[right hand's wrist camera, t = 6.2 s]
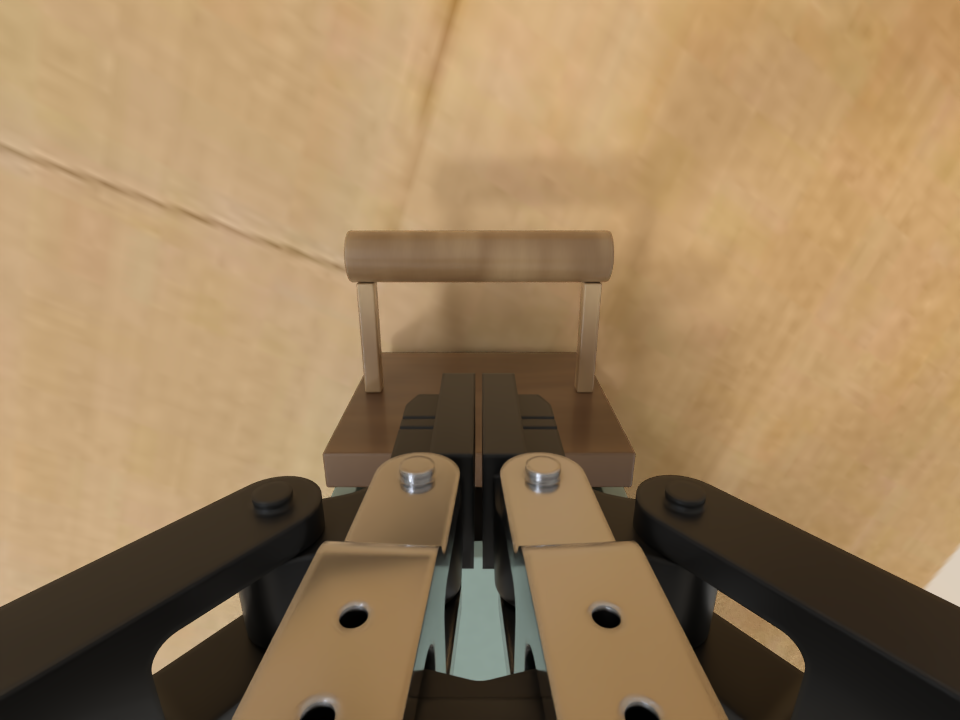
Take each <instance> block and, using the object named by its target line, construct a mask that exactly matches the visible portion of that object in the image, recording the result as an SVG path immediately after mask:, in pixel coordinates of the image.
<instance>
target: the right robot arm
mask: <svg viewBox="0 0 960 720" xmlns="http://www.w3.org/2000/svg"><path fill="white" fill-rule="evenodd" d="M474 525H475V373H443V374H442V380H441V386H440V392H439V394H418V395H417V396H416V397H415V398H413V399H412V400H411V401H410V402H409V403H407V404H406V407H405V410H404V413H403V419H402V420H401V424H400V429H399V430H398V434H397V437H396V441H395V444H394V448H393V451H392V454H391V458H390V459H389V460H387V461H386V462H384V463H383V464H382V465H381V466H380V467H379V468H378V469H377V470H376V472H375V474H374V476H373V478H372V481H371V483H370V485H369V486H368V487H366V488H364V489H361V490H359V491H356V492H353V493H349V494H344V495H340V496H334V497H329V498H324V499H322V494H321V490H320V488H319V486H318V485H317V484H316V483H314V482H313V481H311V480H309V479H306V478H302V477H296V476H282V477H274V478H269V479H265V480H261V481H258V482H256V483H253V484H251V485H249V486H247V487H244V488H242V489H240V490H238V491H236V492H234V493H232V494H230V495H228V496H226V497H224V498H222V499H220V500H218V501H216V502H214V503H212V504H210V505H208V506H206V507H204V508H202V509H200V510H198V511H195V512H193V513H191V514H189V515H187V516H185V517H183V518H181V519H179V520H177V521H175V522H173V523H171V524H169V525H167V526H165V527H163V528H161V529H159V530H157V531H155V532H153V533H151V534H149V535H147V536H144V537H142V538H140V539H138V540H136V541H134V542H132V543H130V544H128V545H126V546H124V547H122V548H120V549H118V550H116V551H114V552H112V553H110V554H108V555H106V556H104V557H102V558H100V559H98V560H95V561H93V562H91V563H89V564H87V565H85V566H83V567H81V568H79V569H77V570H75V571H73V572H71V573H69V574H67V575H65V576H63V577H61V578H59V579H57V580H55V581H53V582H51V583H49V584H47V585H44V586H42V587H40V588H38V589H36V590H34V591H32V592H30V593H28V594H26V595H24V596H22V597H20V598H18V599H16V600H14V601H12V602H10V603H8V604H6V605H4V606H2V607H0V720H960V607H958V606H956V605H954V604H952V603H950V602H948V601H946V600H944V599H942V598H940V597H938V596H936V595H934V594H932V593H930V592H928V591H926V590H924V589H922V588H920V587H918V586H916V585H913V584H911V583H909V582H907V581H905V580H903V579H901V578H899V577H897V576H895V575H893V574H891V573H889V572H887V571H885V570H883V569H881V568H879V567H877V566H875V565H873V564H871V563H869V562H867V561H864V560H862V559H860V558H858V557H856V556H854V555H852V554H850V553H848V552H846V551H844V550H842V549H840V548H838V547H836V546H834V545H832V544H830V543H828V542H826V541H824V540H822V539H820V538H818V537H816V536H813V535H811V534H809V533H807V532H805V531H803V530H801V529H799V528H797V527H795V526H793V525H791V524H789V523H787V522H785V521H783V520H781V519H779V518H777V517H775V516H773V515H771V514H769V513H767V512H764V511H762V510H760V509H758V508H756V507H754V506H752V505H750V504H748V503H746V502H744V501H742V500H740V499H738V498H736V497H734V496H732V495H730V494H728V493H726V492H724V491H722V490H720V489H718V488H716V487H713V486H711V485H709V484H707V483H705V482H702V481H700V480H697V479H693V478H689V477H684V476H677V475H662V476H656V477H652V478H649V479H647V480H645V481H644V482H642V483H641V484H640V485H639V486H638V489H637V492H636V499H631V498H626V497H621V496H616V495H611V494H607V493H603V492H600V491H597V490H594V489H592V487H591V485H590V483H589V481H588V478H587V476H586V474H585V472H584V470H583V469H582V468H581V467H580V466H579V465H578V464H577V463H576V462H574V461H573V460H571V459H569V458H566V456H565V453H564V449H563V446H562V442H561V439H560V435H559V431H558V429H557V424H556V421H555V419H554V414H553V410H552V407H551V404H550V403H548V402H547V401H546V400H545V399H544V398H542V397H541V396H540V395H539V394H518V393H517V386H516V380H515V374H514V373H482V554H483V569H494V578H495V586H496V589H497V591H498V610H499V618H500V625H501V633H502V641H503V649H504V657H505V665H506V673H507V676H503V677H498V678H494V679H490V680H485V681H475V680H470V679H466V678H462V677H457V676H453V673H454V665H455V657H456V649H457V641H458V633H459V625H460V618H461V610H462V583H461V581H462V569H474ZM717 590H719V591H720V592H722V593H723V594H725V595H727V596H728V597H730V598H731V599H733V600H734V601H736V602H738V603H739V604H741V605H742V606H744V607H745V608H747V609H749V610H750V611H752V612H753V613H755V614H756V615H758V616H760V617H761V618H763V619H764V620H766V621H767V622H769V623H771V624H772V625H774V626H775V627H777V628H778V629H780V630H781V631H783V632H784V633H785V634H786V635H788V636H789V637H790V638H791V639H792V640H793V642H794V643H795V644H796V645H797V647H798V648H799V650H800V652H801V654H802V656H803V658H804V662H805V673H803V672H802V671H800V670H799V669H797V668H796V667H794V666H793V665H791V664H790V663H788V662H787V661H785V660H784V659H782V658H781V657H779V656H778V655H777V654H775V653H774V652H772V651H771V650H769V649H768V648H766V647H765V646H763V645H762V644H760V643H759V642H757V641H756V640H754V639H753V638H751V637H750V636H748V635H747V634H745V633H744V632H742V631H741V630H739V629H738V628H736V627H735V626H733V625H732V624H731V623H729V622H728V621H726V620H725V619H723V618H722V617H720V616H719V615H717V614H716V613H714V612H713V610H714V605H715V600H716V595H717ZM238 592H239V597H240V602H241V607H242V611H243V615H241V616H240V617H238V618H237V619H235V620H234V621H232V622H231V623H229V624H228V625H226V626H225V627H224V628H222V629H221V630H219V631H218V632H216V633H215V634H213V635H212V636H210V637H209V638H207V639H206V640H204V641H203V642H201V643H200V644H198V645H197V646H195V647H194V648H192V649H191V650H189V651H188V652H186V653H185V654H183V655H182V656H181V657H179V658H178V659H176V660H175V661H173V662H172V663H170V664H169V665H167V666H166V667H164V668H163V669H161V670H160V671H158V672H157V673H155V674H154V675H152V671H151V669H152V663H153V659H154V657H155V655H156V653H157V651H158V650H159V648H160V647H161V646H162V644H163V643H164V642H165V641H166V640H167V639H168V638H169V637H170V636H172V635H173V634H174V633H176V632H177V631H178V630H180V629H182V628H183V627H185V626H186V625H188V624H189V623H191V622H193V621H194V620H196V619H197V618H199V617H200V616H202V615H204V614H205V613H207V612H208V611H210V610H211V609H213V608H215V607H216V606H218V605H219V604H221V603H222V602H224V601H226V600H227V599H229V598H230V597H232V596H233V595H235V594H236V593H238Z"/></svg>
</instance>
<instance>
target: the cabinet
mask: <svg viewBox="0 0 960 720" xmlns="http://www.w3.org/2000/svg"><path fill="white" fill-rule="evenodd" d="M364 488H366V487H335V489H334V491H333V493H332V496H331V497H334V496H340V495H344V494H349V493H353V492H356V491H359V490H361V489H364ZM592 489H594V490H597V491H600V492H603V493H607V494H611V495H616V496H621V497H626V498H628V497H627V494H626V492H625V490H624V487H592ZM461 583H462V610H461V618H460V625H459V633H458V641H457V649H456V657H455V665H454V673H453V676H457V677H462V678H466V679H470V680H475V681H485V680H490V679H494V678H498V677H503V676H507V673H506V665H505V657H504V649H503V641H502V633H501V625H500V618H499V610H498V591H497V589H496V586H495V578H494V569H483V554H482V541H474V569H462V581H461Z"/></svg>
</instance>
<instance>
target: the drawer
mask: <svg viewBox="0 0 960 720" xmlns="http://www.w3.org/2000/svg"><path fill="white" fill-rule="evenodd" d="M344 261H345V268H346V273H347V276H348V278H349V280H350V281H351V282H358V283H357V297H358V309H359V321H360V333H361V345H362V357H363V370H364V376H363V378H362V379H361V381H360V383H359V385H358V387H357V389H356V391H355V393H354V395H353V397H352V399H351V401H350V402H349V404H348V406H347V408H346V410H345V412H344V414H343V416H342V418H341V420H340V422H339V424H338V426H337V427H336V429H335V431H334V433H333V435H332V437H331V439H330V441H329V443H328V445H327V447H326V449H325V450H324V452H323V461H324V470H325V478H326V485H327V487H368V486H369V485H370V483H371V481H372V478H373V476H374V474H375V472H376V470H377V469H378V468H379V467H380V466H381V465H382V464H383V463H384V462H386V461H387V460H389V459H390V458H391V454H392V451H393V448H394V444H395V441H396V437H397V434H398V430H399V429H400V424H401V420H402V419H403V413H404V410H405V407H406V404H407V403H409V402H410V401H411V400H412V399H413V398H415V397H416V396H417V395H418V394H439V392H440V386H441V380H442V374H443V373H475V525H474V541H482V373H514V374H515V380H516V386H517V393H518V394H539V395H540V396H541V397H542V398H544V399H545V400H546V401H547V402H548V403H550V404H551V407H552V410H553V414H554V419H555V421H556V424H557V429H558V431H559V435H560V439H561V442H562V446H563V449H564V453H565V456H566V458H569V459H571V460H573V461H574V462H576V463H577V464H578V465H579V466H580V467H581V468H582V469H583V470H584V472H585V474H586V476H587V478H588V481H589V483H590V485H591V487H631V486H632V480H633V471H634V462H635V452H634V450H633V448H632V446H631V444H630V442H629V440H628V438H627V436H626V435H625V433H624V431H623V429H622V427H621V425H620V423H619V421H618V419H617V417H616V415H615V413H614V411H613V409H612V408H611V406H610V404H609V402H608V400H607V398H606V396H605V394H604V392H603V390H602V388H601V386H600V384H599V382H598V380H597V379H596V377H595V375H594V374H595V362H596V350H597V337H598V325H599V313H600V300H601V288H602V284H601V283H600V282H607V281H608V280H609V279H610V276H611V273H612V269H613V262H614V243H613V238H612V234H611V232H609V231H349V232H348V233H347V235H346V238H345V244H344ZM377 282H582V283H581V298H580V313H579V328H578V343H577V352H471V353H381V338H380V324H379V309H378V295H377Z"/></svg>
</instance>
